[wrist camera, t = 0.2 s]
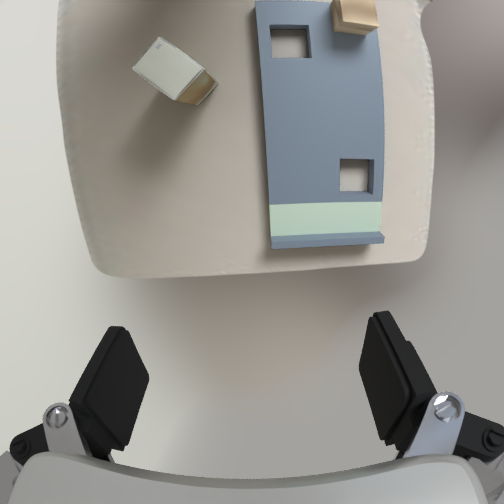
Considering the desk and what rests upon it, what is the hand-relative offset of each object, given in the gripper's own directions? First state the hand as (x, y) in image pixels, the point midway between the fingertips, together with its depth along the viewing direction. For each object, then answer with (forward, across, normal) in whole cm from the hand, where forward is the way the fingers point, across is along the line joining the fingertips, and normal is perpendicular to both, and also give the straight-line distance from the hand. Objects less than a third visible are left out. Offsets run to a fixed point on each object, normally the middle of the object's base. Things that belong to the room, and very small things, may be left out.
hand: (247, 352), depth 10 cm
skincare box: (+31, +7, -15) cm, 35 cm away
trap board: (+31, -10, -8) cm, 34 cm away
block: (+29, -14, -23) cm, 39 cm away
